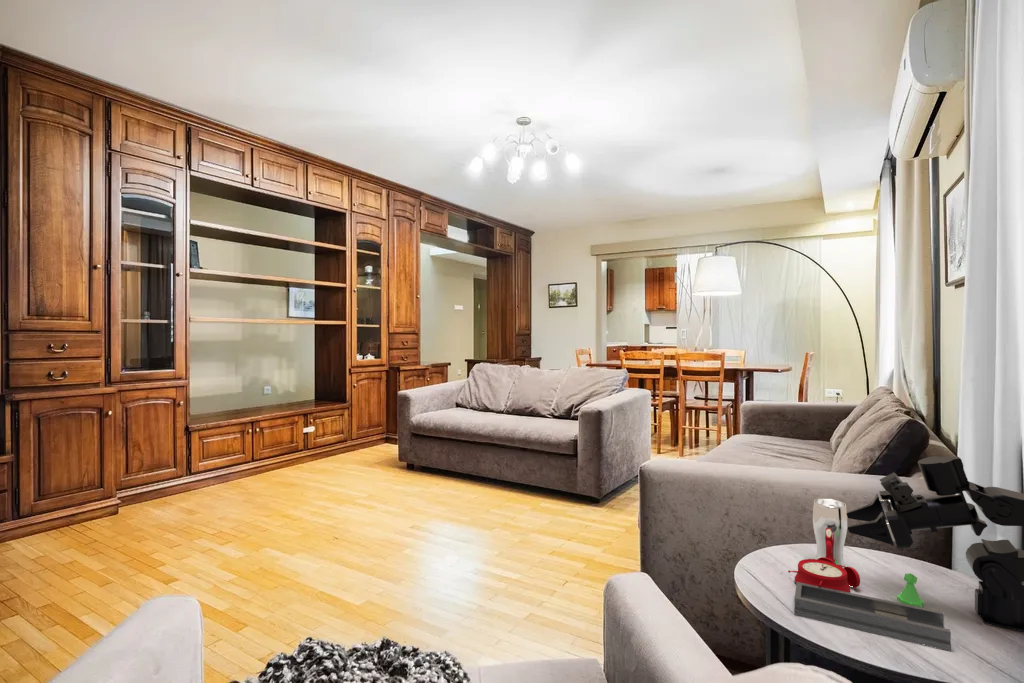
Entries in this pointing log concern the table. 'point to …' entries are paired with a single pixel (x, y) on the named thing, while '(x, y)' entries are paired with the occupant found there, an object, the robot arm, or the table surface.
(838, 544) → the beer glass
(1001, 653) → the table surface
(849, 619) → the track
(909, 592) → the game piece
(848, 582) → the alarm clock
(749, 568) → the table surface
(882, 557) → the table surface
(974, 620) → the table surface
